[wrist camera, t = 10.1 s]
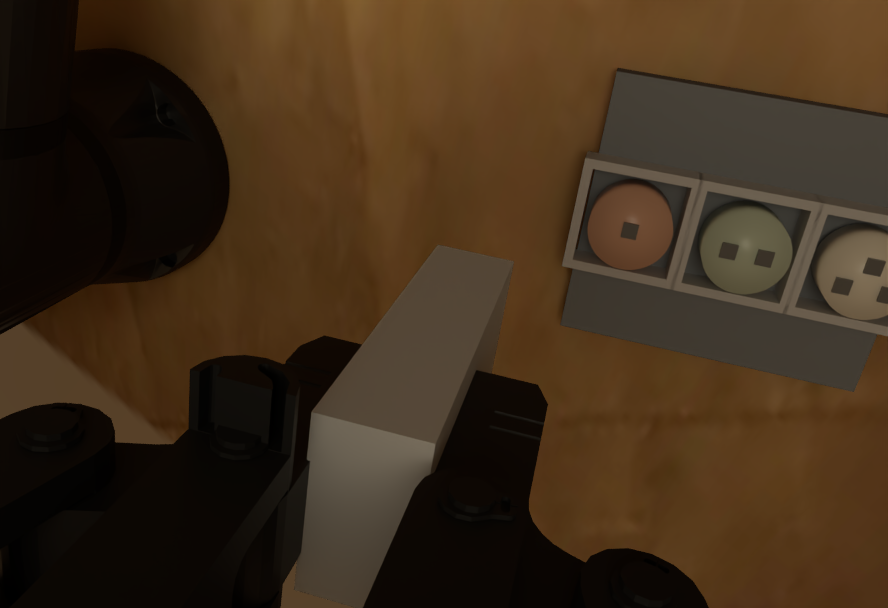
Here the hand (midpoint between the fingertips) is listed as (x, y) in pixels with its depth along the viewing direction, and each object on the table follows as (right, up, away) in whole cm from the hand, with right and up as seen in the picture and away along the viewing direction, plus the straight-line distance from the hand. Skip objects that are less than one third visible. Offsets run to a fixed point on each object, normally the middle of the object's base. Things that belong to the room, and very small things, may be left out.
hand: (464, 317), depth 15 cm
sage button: (+16, +4, +27) cm, 32 cm away
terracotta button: (+10, +5, +28) cm, 30 cm away
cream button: (+22, +2, +26) cm, 34 cm away
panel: (+16, +5, +30) cm, 34 cm away
